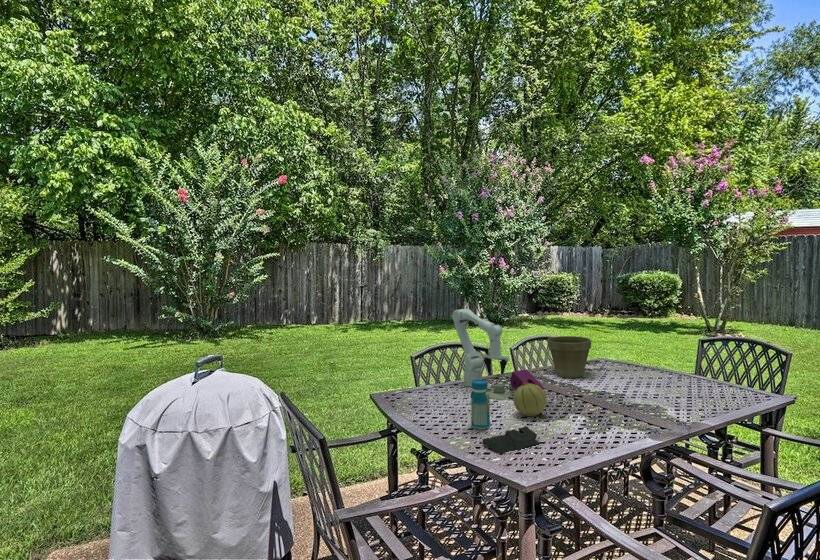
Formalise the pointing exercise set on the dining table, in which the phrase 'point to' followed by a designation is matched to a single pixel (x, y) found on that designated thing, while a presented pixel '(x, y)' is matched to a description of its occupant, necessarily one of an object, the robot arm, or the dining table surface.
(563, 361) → the plant pot
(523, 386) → the cantaloupe
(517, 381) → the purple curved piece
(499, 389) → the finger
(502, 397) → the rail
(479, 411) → the beverage bottle
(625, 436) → the dining table surface
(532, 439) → the dark slate chunk
